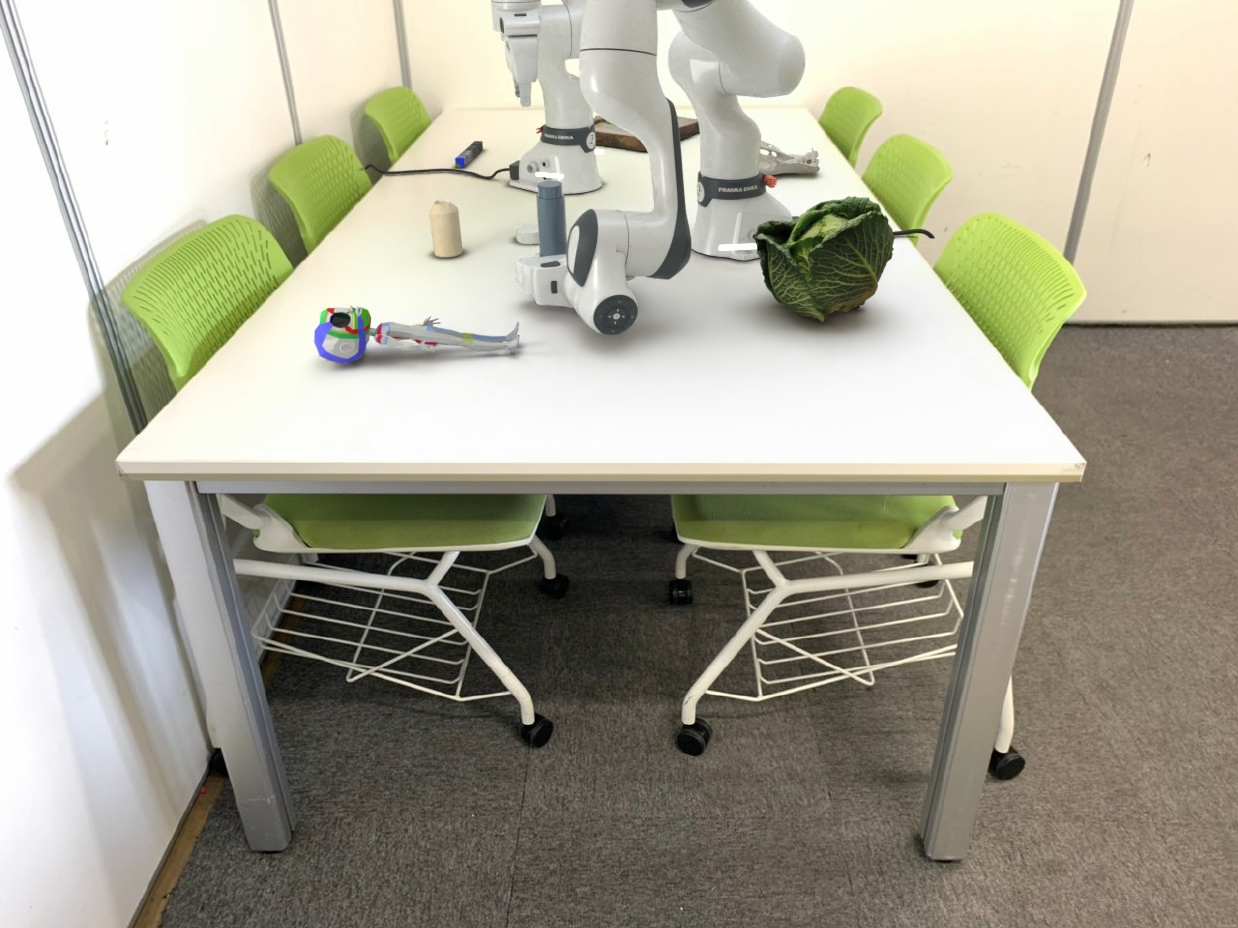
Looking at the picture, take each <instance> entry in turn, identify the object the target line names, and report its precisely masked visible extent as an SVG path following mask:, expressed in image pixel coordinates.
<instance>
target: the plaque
mask: <svg viewBox="0 0 1238 928" xmlns="http://www.w3.org/2000/svg"><path fill="white" fill-rule="evenodd" d="M677 119H678V125H679V133H680V141H682V140H684V139H687V138H691V137H692V136H694V135H696V134H698V133H700V130H699V124H698V120H697V118H693V117H685V116H679V115H677ZM593 123H594V124H595V133H596V144H595V145H597V146H598V145H599V146H607V147H612V148H620V149H625V150H632V151H640V152H647V153H648V151H647V149H646V148H645V146H644V145H643V143H642V142H641V141H640V140H639V139H638V138H636V137H635V136H634V135H632V134H631V133H629V132H627V131H625V130H623V129H622V128H620V127H618V126H616V125H614V124H612V123H610V122H608V121H606V120H605V119H603V118H602V117H601V116H599V115H594V117H593Z"/></svg>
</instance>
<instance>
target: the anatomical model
mask: <svg viewBox="0 0 1238 928" xmlns="http://www.w3.org/2000/svg"><path fill="white" fill-rule="evenodd" d="M760 150H764V151H767V152H768V154H763V153H761V152H760V162H759V171H760V172H762V173H763V174H765V175H771V176H775V175H780V174H793V173H794V174H807V175H808V174H814V173H818V172H819V171H820V170H821V167H820V166H819V164H820V159H819V158H818V157H819V152H818V150H814V147H811V152H810V151H807V152H806V153H805V154H793V153H787V152H784V151H782V150H781V149H780V148H779V147H777V146H776V145H774V144H771V143H769V142H766V141H765V140H761V147H760ZM773 153H775V154H776V156H775V155H773Z"/></svg>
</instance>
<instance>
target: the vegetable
mask: <svg viewBox="0 0 1238 928" xmlns="http://www.w3.org/2000/svg"><path fill="white" fill-rule="evenodd" d="M870 199H871V198H870V197H863V196H862V197H860V196H859V197H858V196H856V195H854V196H848V195H847V197H845V198H844V199H843V198H842V199H830V200H825V201H821V202H819V203H817V204H815V205H813V206H811V207H810V208H808V209H807V210H806V211H805V212H804V213H800V215H799V218H797V219H795V220H793V221H790V222H789V221H776V220H771V221H768V222H765V223H763V224H761V225H759V226H758V228H757V232H756V233H755V236H754V239H755V242H756V246H757V254H758V256H759V258H760V262H759V265H760V268H761V274H762V276H763V283H764V285H765V287H766V289H767V290H768V291H769V292H770V294H771V296H772V297H773V298H774V299H775V301H776V302H777V303H778V305H779V304H783V305H785V307H786V308H787V309H789V311H790V310H791V311H792V312H794V313H796V314H798V315H799V316H802V317H805V318H815V319H816V320H818V321H820V322H821V323H824V320H830V318H829V317H828V316H829V315H831V314H833V313H834V312H838V311H841V312H844V313H848V312H849V311H851V310H852V309H853V310H854V309H855V310H856V309H860V308H861V306H864V305H865V303H866V301H868V300H869V299H871V298H872V297H873V296H874V295H875V294H876V293H877V291H878V288H879V282H880V280H881V277H882V275H883V274H884V271H885V269H886V266H887V264H888V262H889V261H890V260H892V258H893V255H894V254H893V251H894V250H895V249H894V243H895V242H894V241H895V239H896V236H894V234H893V232H894V231H893V228H892V227H891V225H890V223H889V218H888V217H887V214H886V215H884V213H883V212H882V207H881V206H880V204H879V203H877V202H874V201H872V200H870Z"/></svg>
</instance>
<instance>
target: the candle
mask: <svg viewBox="0 0 1238 928" xmlns="http://www.w3.org/2000/svg"><path fill="white" fill-rule="evenodd" d="M459 214H460V212H459V208H458V206H456V204H454V203H453V202H451V201H445V200H436V201H434V202H433V204H431V206H430V208H429V209H428V215H429V223H430V230H431V240H432V246H433V247H432V248H433V252H434V255H435V256H436V257H439V258H453V257H457V256H460V255H462V254H463V252H464V251H463V240H462V231H461V224H460V222H461V221H460V215H459Z"/></svg>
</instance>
